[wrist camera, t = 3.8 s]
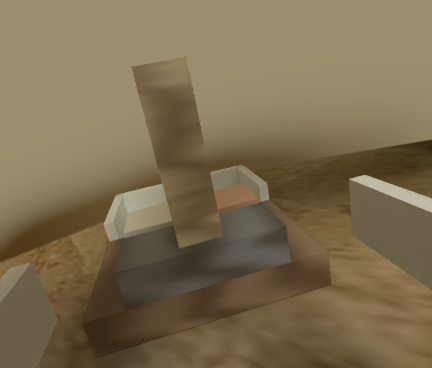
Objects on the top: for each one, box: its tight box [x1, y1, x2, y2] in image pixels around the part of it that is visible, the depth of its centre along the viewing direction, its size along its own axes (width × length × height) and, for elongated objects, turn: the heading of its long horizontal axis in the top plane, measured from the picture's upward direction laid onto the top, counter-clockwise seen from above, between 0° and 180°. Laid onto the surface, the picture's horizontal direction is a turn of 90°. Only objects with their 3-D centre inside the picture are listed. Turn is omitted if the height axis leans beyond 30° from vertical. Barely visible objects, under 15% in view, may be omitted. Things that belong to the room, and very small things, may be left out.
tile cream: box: [124, 203, 173, 238], centre depth 28 cm, size 5×5×3 cm
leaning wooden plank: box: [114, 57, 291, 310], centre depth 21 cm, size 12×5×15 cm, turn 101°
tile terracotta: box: [214, 184, 259, 213], centre depth 29 cm, size 5×5×3 cm
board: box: [82, 200, 331, 357], centre depth 27 cm, size 18×12×3 cm, turn 101°
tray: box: [104, 165, 269, 241], centre depth 37 cm, size 18×10×5 cm, turn 101°
